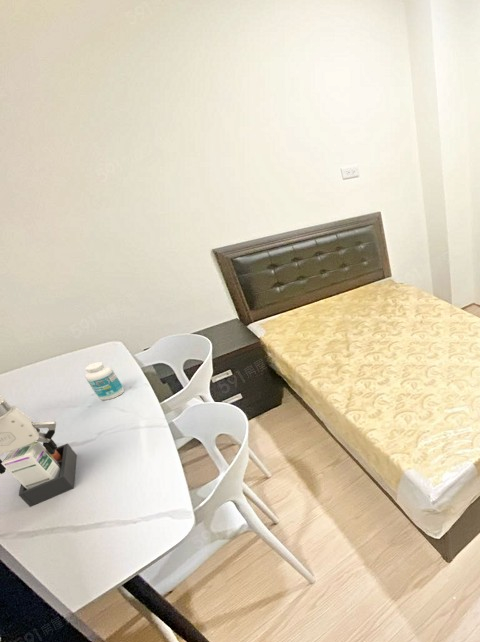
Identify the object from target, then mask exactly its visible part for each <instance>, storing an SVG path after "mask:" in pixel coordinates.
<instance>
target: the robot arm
mask: <svg viewBox="0 0 480 642" xmlns="http://www.w3.org/2000/svg"><path fill="white" fill-rule="evenodd" d="M56 428H57V422H56V421H34V420H32V419H31V418H30V417H29V416H28V415H27V414H26V413H25V412H23V411H22V410H21V409H19V408H18V407H16V406H14V405H13V406H10V404H9V403H8V401H7V400H6V399H5V398H4V397H3V396H2V394H0V456H2V455H5V454H7V453H10V451H13V450H15V449H18V448H21V447H24V446H26V445H29V444H31V443H34V442H40V443H42V445H43V447H44V448H46V450H47V451H48V452H49V453H50V454H55V449H56V448H57V447H58V445H57V444H56V442H55V441H54V440H53V439H52V438H53V437H54V436H55V433H56ZM41 429H48V430H47V432H43V431H41ZM2 462H3V460H2V459H1V458H0V475H2V474H3V475H4V474H5V473H6V470H7V469H6V468H5V467H4V466H3V465H2V464H1V463H2Z"/></svg>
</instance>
